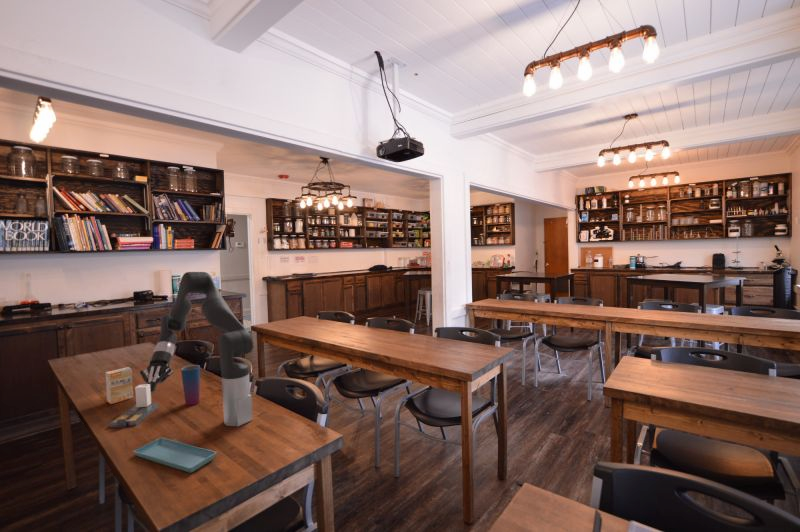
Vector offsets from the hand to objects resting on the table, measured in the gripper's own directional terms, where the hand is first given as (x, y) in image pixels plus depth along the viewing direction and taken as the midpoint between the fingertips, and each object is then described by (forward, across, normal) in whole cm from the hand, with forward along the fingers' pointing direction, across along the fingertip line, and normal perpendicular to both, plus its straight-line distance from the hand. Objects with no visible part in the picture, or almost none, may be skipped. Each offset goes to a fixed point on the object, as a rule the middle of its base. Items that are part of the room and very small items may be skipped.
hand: (149, 392), depth 155 cm
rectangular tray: (+35, +28, -26) cm, 52 cm away
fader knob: (+6, 0, -1) cm, 6 cm away
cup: (+5, +17, +3) cm, 18 cm away
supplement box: (-2, -16, +10) cm, 19 cm away
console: (+11, 0, -4) cm, 12 cm away
